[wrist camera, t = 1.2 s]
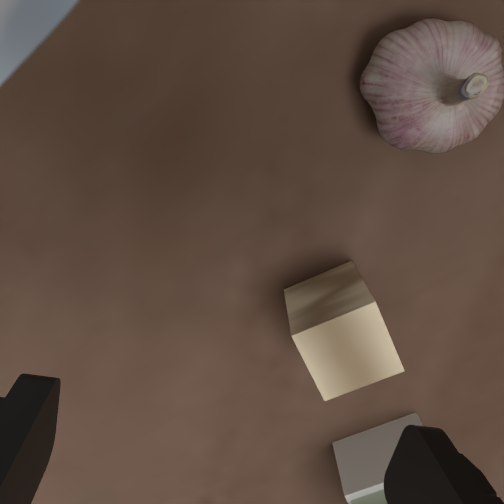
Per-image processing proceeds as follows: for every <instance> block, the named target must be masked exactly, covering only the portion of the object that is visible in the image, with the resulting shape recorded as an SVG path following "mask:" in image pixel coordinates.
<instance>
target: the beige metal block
mask: <svg viewBox="0 0 504 504" xmlns="http://www.w3.org/2000/svg"><path fill="white" fill-rule="evenodd" d="M284 295H285V301H286V307H287V313H288V319H289V325H290V331H291V336H292V338H293V340H294V342H295V344H296V346H297V348H298V350H299V352H300V354H301V356H302V358H303V360H304V362H305V364H306V366H307V368H308V370H309V372H310V373H311V375H312V377H313V379H314V381H315V383H316V385H317V387H318V389H319V391H320V393H321V395H322V397H323V399H324V401H327V400H329V399H332V398H335V397H337V396H340V395H343V394H345V393H348V392H351V391H353V390H356V389H358V388H361V387H364V386H366V385H369V384H372V383H374V382H377V381H380V380H382V379H385V378H387V377H390V376H393V375H395V374H398V373H401V372H403V371H404V368H403V366H402V364H401V361H400V359H399V357H398V354H397V352H396V349H395V347H394V345H393V342H392V340H391V337H390V335H389V333H388V330H387V328H386V326H385V323H384V321H383V318H382V316H381V314H380V311H379V309H378V306H377V304H376V302H375V300H374V298H373V296H372V295H371V293H370V291H369V290H368V288H367V286H366V284H365V283H364V281H363V279H362V277H361V276H360V274H359V272H358V270H357V269H356V267H355V265H354V263H353V262H352V261H350V262H347V263H345V264H342V265H340V266H338V267H335V268H333V269H331V270H328V271H326V272H324V273H321V274H319V275H317V276H314V277H312V278H310V279H307V280H305V281H303V282H300V283H298V284H295V285H293V286H291V287H288V288H286V289H284Z"/></svg>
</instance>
